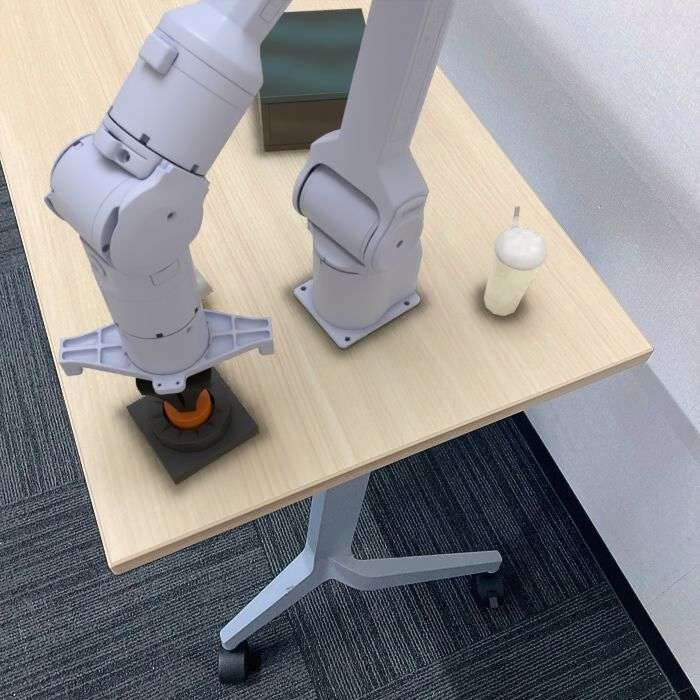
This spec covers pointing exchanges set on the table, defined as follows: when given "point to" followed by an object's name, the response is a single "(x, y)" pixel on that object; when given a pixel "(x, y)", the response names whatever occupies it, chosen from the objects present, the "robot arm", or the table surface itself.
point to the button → (191, 413)
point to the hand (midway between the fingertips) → (187, 401)
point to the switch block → (194, 430)
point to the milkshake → (513, 267)
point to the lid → (311, 55)
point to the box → (299, 122)
